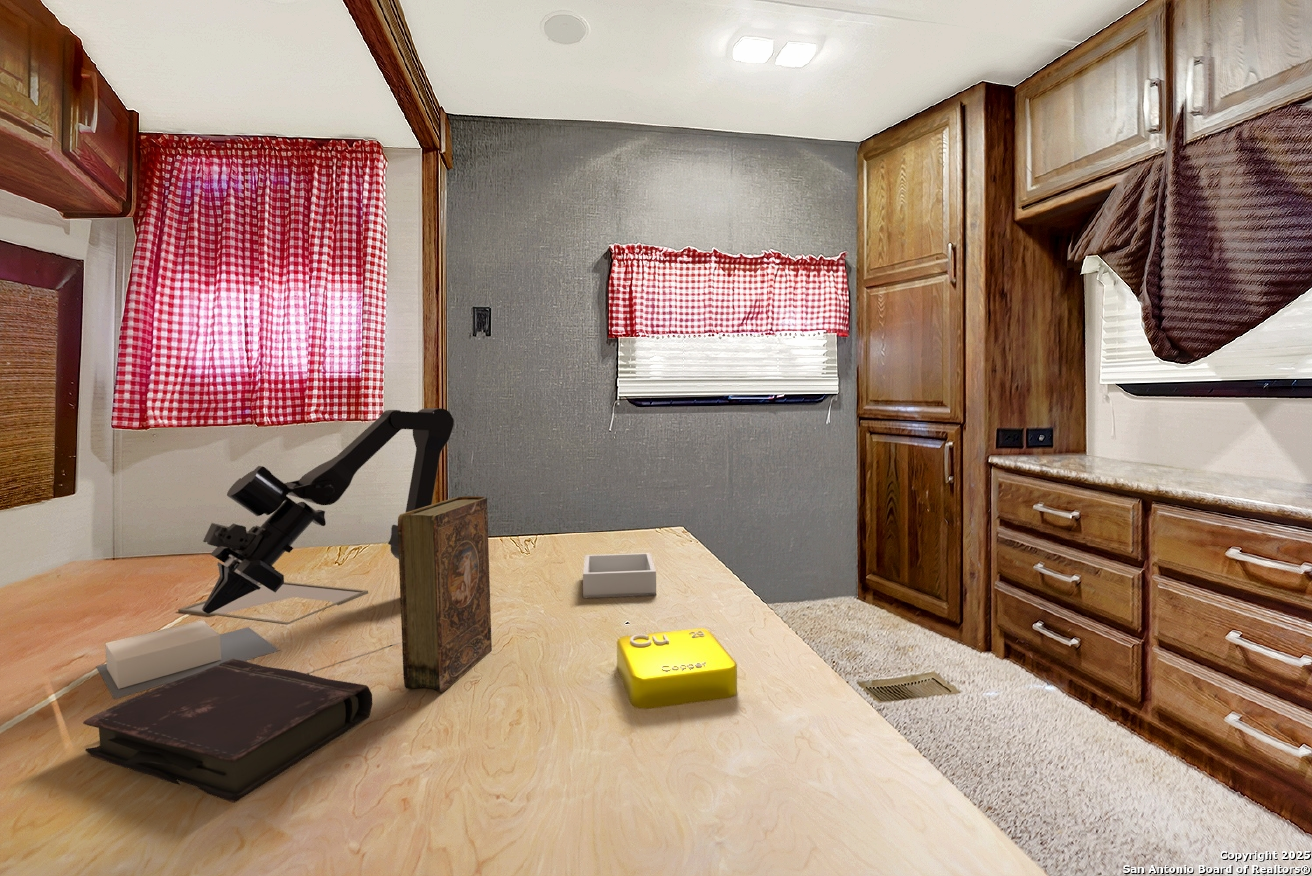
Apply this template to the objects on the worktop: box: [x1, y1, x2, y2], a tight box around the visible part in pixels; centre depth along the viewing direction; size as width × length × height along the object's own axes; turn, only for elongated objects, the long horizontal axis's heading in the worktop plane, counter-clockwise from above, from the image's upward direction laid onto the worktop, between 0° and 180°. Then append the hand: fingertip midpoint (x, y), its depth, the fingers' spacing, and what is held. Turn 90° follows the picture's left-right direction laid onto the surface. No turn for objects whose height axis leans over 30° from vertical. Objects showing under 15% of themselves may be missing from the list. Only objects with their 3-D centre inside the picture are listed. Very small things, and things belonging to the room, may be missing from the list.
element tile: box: [616, 628, 738, 710], centre depth 85 cm, size 15×15×5 cm
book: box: [397, 495, 493, 693], centre depth 88 cm, size 16×6×25 cm, turn 168°
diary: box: [82, 659, 373, 804], centre depth 72 cm, size 19×25×5 cm
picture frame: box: [177, 581, 369, 625], centre depth 120 cm, size 19×1×28 cm
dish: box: [582, 552, 657, 599], centre depth 128 cm, size 15×15×5 cm
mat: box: [96, 626, 281, 700], centre depth 93 cm, size 20×16×1 cm
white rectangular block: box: [104, 619, 221, 689], centre depth 90 cm, size 4×10×12 cm
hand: (205, 612), depth 94 cm, fingers closed
